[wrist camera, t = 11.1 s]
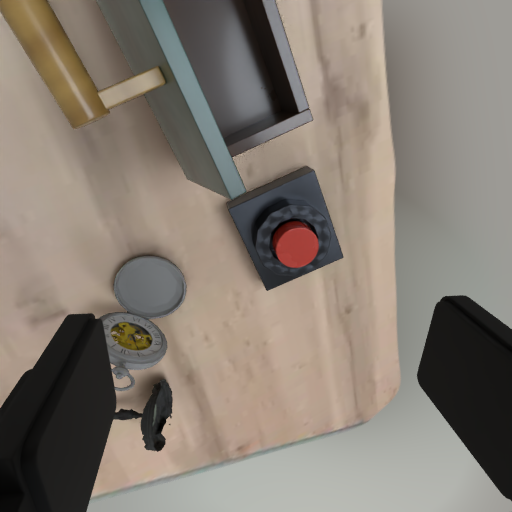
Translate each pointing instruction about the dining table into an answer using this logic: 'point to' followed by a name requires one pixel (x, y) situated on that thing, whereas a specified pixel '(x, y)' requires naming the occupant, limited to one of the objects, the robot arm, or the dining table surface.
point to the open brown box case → (242, 68)
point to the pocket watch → (142, 313)
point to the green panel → (131, 81)
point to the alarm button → (295, 244)
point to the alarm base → (278, 213)
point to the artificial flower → (152, 416)
